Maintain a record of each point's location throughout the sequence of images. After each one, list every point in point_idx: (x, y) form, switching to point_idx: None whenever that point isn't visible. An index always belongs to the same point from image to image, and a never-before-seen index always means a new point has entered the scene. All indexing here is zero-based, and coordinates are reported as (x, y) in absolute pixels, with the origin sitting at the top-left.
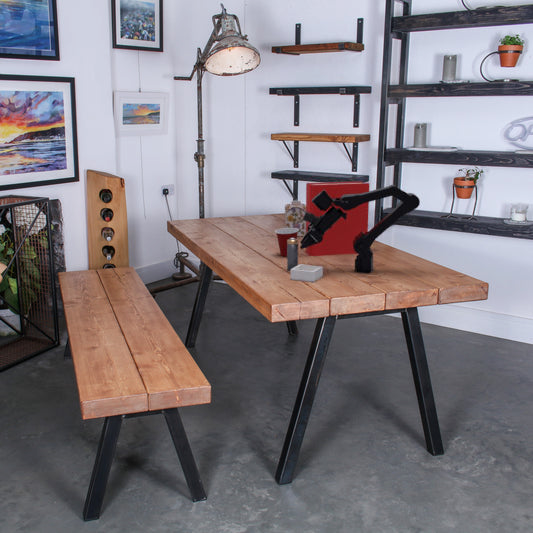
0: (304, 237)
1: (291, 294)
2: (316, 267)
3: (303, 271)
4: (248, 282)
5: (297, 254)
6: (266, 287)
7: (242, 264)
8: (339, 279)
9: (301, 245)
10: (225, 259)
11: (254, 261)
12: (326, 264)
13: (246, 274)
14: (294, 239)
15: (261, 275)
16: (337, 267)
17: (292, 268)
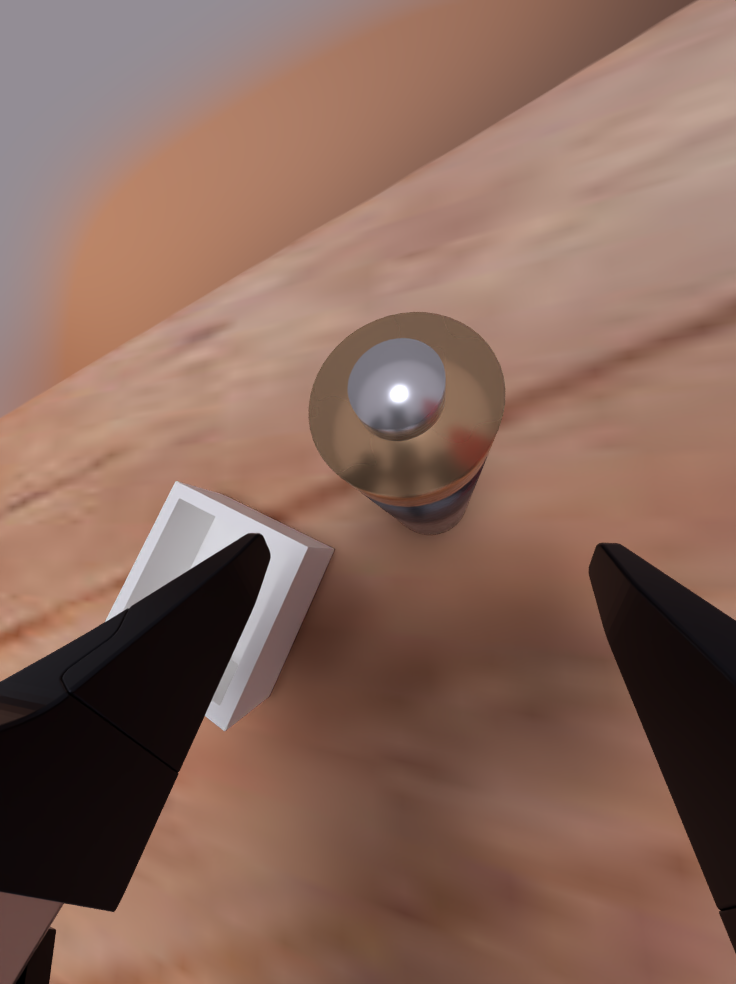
0: (682, 648)
1: (22, 506)
2: (240, 671)
3: (136, 564)
4: (195, 313)
5: (395, 516)
6: (120, 398)
7: (562, 182)
8: (196, 803)
9: (221, 554)
10: (703, 46)
11: (675, 219)
12: (671, 813)
13: (327, 269)
14: (361, 424)
15: (306, 340)
16: (551, 902)
17: (195, 492)
